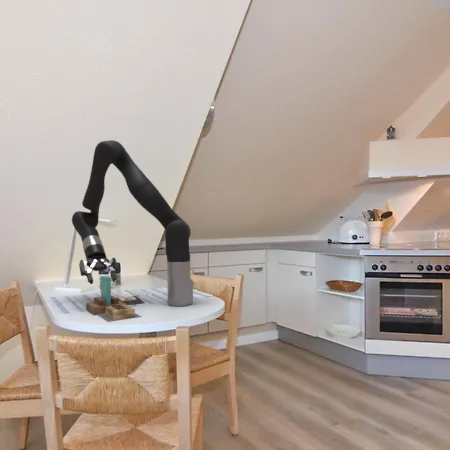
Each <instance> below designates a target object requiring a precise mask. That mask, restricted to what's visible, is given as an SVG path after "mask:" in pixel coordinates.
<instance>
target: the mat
mask: <svg viewBox="0 0 450 450" xmlns="http://www.w3.org/2000/svg"><path fill="white" fill-rule="evenodd" d="M97 316H98V317H100V318H101V319H103V320H104V321H106V322H108V323H110V322H117V321H123V320H130V319H136V318H142V316H141V315H140V314H138V313H136V312H135V317H133V318H126V319H120V320H113V319H111V318H109V317H108V316H106V315H105V314H100V315H97Z"/></svg>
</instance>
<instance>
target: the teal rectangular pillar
mask: <svg viewBox="0 0 450 450" xmlns="http://www.w3.org/2000/svg"><path fill="white" fill-rule="evenodd" d="M111 280H112V278H111V276H109V275H108V276H107V275H100V298H102V299H104V300H105V305H111V295H112V292H111V291H112V290H111V288H112V287H111V284H112V283H111Z"/></svg>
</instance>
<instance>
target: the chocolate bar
mask: <svg viewBox="0 0 450 450" xmlns="http://www.w3.org/2000/svg"><path fill="white" fill-rule="evenodd" d="M115 297H116V296H115ZM116 298H118V299H119V300H120V301H122V302H124V303H126V305H128V306H131V305H141V304H142V305H143V304H146V302H145V301H144V300H142V299H141V298H139V296H136V295H126V296H125V295H124V296H118V297H116Z"/></svg>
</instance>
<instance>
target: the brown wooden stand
mask: <svg viewBox="0 0 450 450" xmlns="http://www.w3.org/2000/svg"><path fill="white" fill-rule="evenodd" d="M123 304H126V303H124V302H122V301H120V300H119V299H118V298H116V296H114V295H112V294H111V305H105V300H104V299H102V298H101V296H94V297H93V299H92V302H86V303H85V310H86V311H87V312H88V313H89V314H92V315H93V316H98V315H101V314H105V307H108V306H112V307H114V308H115V309H117V310H120V305H123Z"/></svg>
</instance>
